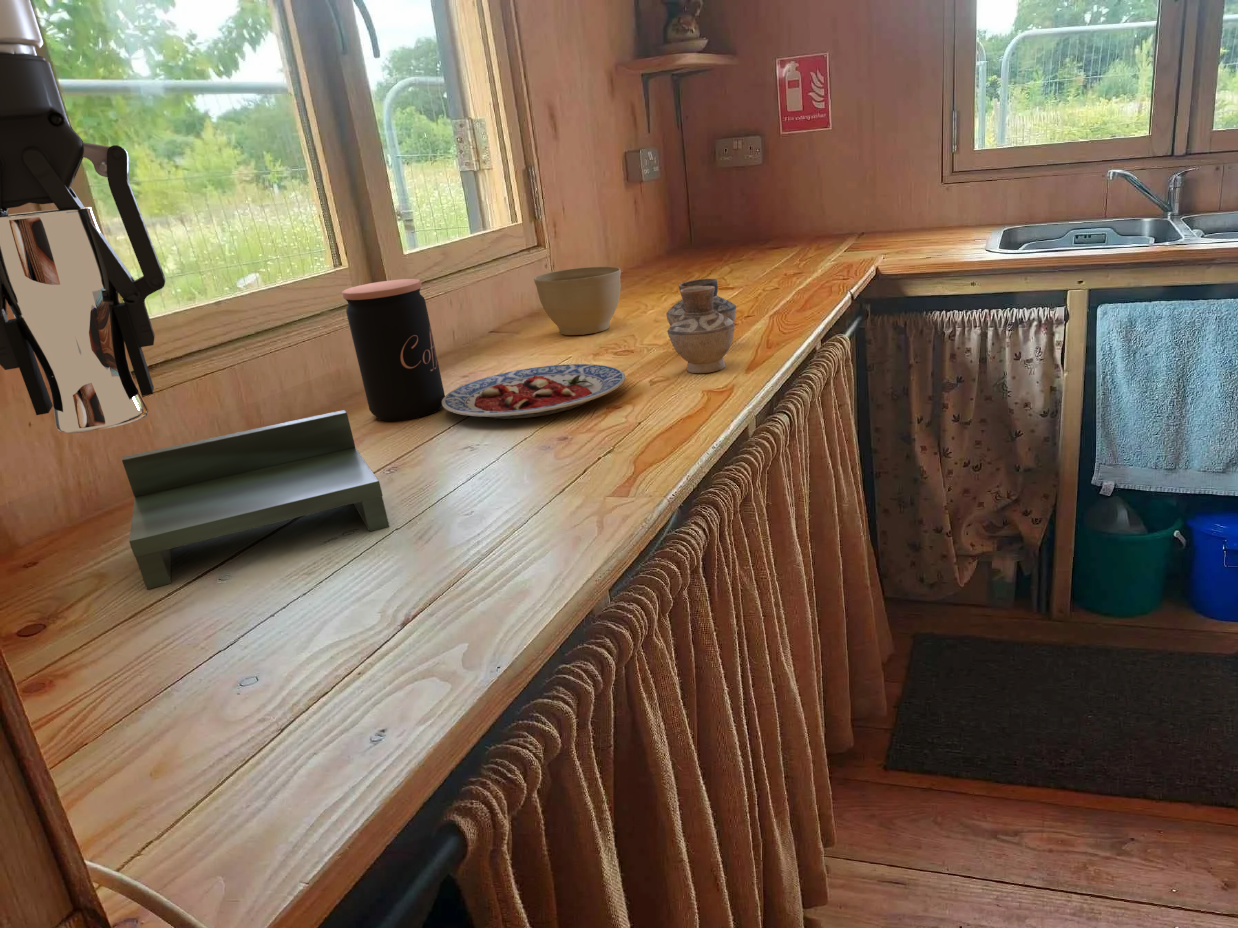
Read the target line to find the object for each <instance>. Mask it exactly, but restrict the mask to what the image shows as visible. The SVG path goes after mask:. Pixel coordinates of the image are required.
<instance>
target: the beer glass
mask: <svg viewBox="0 0 1238 928" xmlns="http://www.w3.org/2000/svg"><path fill="white" fill-rule="evenodd" d="M86 216H87V217H88V219H89V220H90V221H91V222H92V224H93V225H94V226H95V228H96V229H97V230H98V231H99V232H100V231H101V229H100V228H99V226H98V223H97V221H96V217H95V215H94V212H93V208H92V207H91V206H84V208H81V209H71V210H62V211H59V210H58V208H57V209H47V210H37V211H27V212H26V211H25V212H18V213H8V216H2V217H0V277H1V281H2V289H3V293H4V295H5V298H6V301H7V306H9V309H10V311H11V313H12V314H13V317H14V319H16V321H17V322H18V324H19V326H20V328H21V330H22V332H23V334H24V335H25V337H26V339H27V341H28V343H29V344H30V346H31V348H32V350H33V352H34V354H35V357H36V360H37V362H39V363H38V364H40V367H41V369H42V370H43V373H44V375H45V378H46V380H47V383H48V387H49V389H50V393H51V398H52V399H51V400H52V405H53V406H52V408H53V415H54V423H55V427H56V429H57V431H58V432H60V433H64V434H79V433H80V434H81V433H90V432H97V431H104V430H108V429H113V428H117V427H121V426H125V425H128V424H131V423H134V422H137V421H139V420H141V419H143V418H145V417H147V416H148V415H149V412H150V411H149V408H148V406H147V404H146V401H145V400H144V398H143V396H142V395H141V392H140V389H139V387H137V386H138V385H137V384H136V381H135V379H134V378H133V375H132V372H131V369H130V365H129V362H128V361H129V360H128V357H127V356H128V355H127V348H126V345H125V342H124V339H123V336H122V333H121V330H120V327H119V324H118V320H117V317H116V314H115V311H114V307H117V306H119V305H120V303H121V299H120V294H119V293H118V292H117V290H116V289H115V287H114V286H113V284H112V283H111V282H110V280H109V279H108V275H107V271H106V267H105V264H104V262H103V259H102V256H101V253H100V250H99V247H98V245H97V242H96V240H95V237H94V235H93V232H92V230H91V227H90V225H89V222H88V220H87V217H86Z"/></svg>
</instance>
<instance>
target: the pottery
mask: <svg viewBox="0 0 1238 928" xmlns="http://www.w3.org/2000/svg"><path fill="white" fill-rule="evenodd" d="M718 286H719V285H718V280H717V279H716V278H698V279H692V280H687V281H683V282H680V283H679V284H678V290H679V293H680V296H681V299H680V300H678V301H677V302H676V303H674V304H673V305H672V307H671V308H669V309H668V310H667V312H666V319H667V321H668V322H667V323H668V324H669V326H670V327H669V328H667V331H666V332H667V335H668V338H669V340H670V343H671V345H672V347H673V348H674V350H675V351H676V353H677V354H678V355H679V356H680V357H681V358H682V359H683V360H684V361H686V362H687V363H686V366H687V367H686V372H688V373H692V374H709V373H713V372H718V371H721V370H723V369H725V367H726V363H725V360H724V357H726V355H727V354H728V352H729V351H730V348H731V345H732V343H733V339H734V334H735V327H736V326H735V325H736V323H735V320H736V317H737V305H736V304H735V303H733V302H732V301H730V300H728V299H725V298H724V297H721V296H719V295H718V291H719V289H718V288H719V287H718Z"/></svg>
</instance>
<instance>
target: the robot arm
mask: <svg viewBox="0 0 1238 928" xmlns="http://www.w3.org/2000/svg"><path fill="white" fill-rule="evenodd" d="M43 45H44V40H43V37H42V34H41V30H40V28H39V25H38V21H37V17H36V15H35V12H34V9H33V6H32V2H31V0H0V217H2V216H8V214H9V209H13V208H20V207H22V206H24V205H27V204H36V205H48V204H50V205H51V204H54V205H55V207H56V208H57V209H58V210H59V211H62V210H71V209H81V208H84V207H85V206H84V205H83V202H82V201H81V200H80V198H79V197H78V195H77V194H76V192H75V190H74V189H73V188H72V185H73V183H74V180H75V178H76V176H77V174H78V172H79V169H80V166H81V164H82V162H83V159H84V158H85V159H87V160H89V161H90V162H91V163H92V165H93V168H94V171H95V172H96V173H97V175H99V176H101V177H103V178H106V179H107V183H108V187H109V190H110V194H111V197H112V198H113V201H114V204H115V206H116V208H117V212H118V214H119V215H120V219H121V221H122V224H123V226H124V229H125V232H126V234H127V237H128V239H129V242H130V246H131V247H132V250H133V252H134V255H135V257H136V258H135V259H136V261H137V263H138V265H139V268H140V270H141V273H142V276H140V277H138V278H136V279H134V277H133V275H132V273H130V271H129V270H128V268H127V267H126V266H125V264H124V262H123V261H122V260H121V258H120V256H118V254H117V253H116V251H115V250H114V248H113V246H111V244H110V243H109V241H108V240H107V238H106V237H105V236H104V234H103V232H102V230H100V232H99V231H98V230H97V229H96V228H95V226H94V225H93V224H92V222H91V221H90V220H89V219H88V217H87V216H86V217H87V220H88V222H89V225H90V227H91V230H92V232H93V235H94V237H95V240H96V242H97V245H98V247H99V250H100V253H101V256H102V259H103V262H104V264H105V267H106V271H107V275H108V279H109V280H110V282H111V283H112V284H113V286H114V287H115V289H116V290H117V292H118V293H119V297H121V299H122V302H120V305H119V306H117V307H114V311H115V314H116V317H117V320H118V324H119V327H120V330H121V333H122V336H123V339H124V342H125V349H126V352H127V354H128V355H127V356H128V357H129V360H130V363H131V367H132V370H133V373H134V376H135V379H136V383H137V386H138V390H139V392H140V394H141V396H142V397H143V396H149V395H154V389H155V386H154V383H153V380H152V377H151V373H150V371H149V367H148V364H147V360H146V358H145V355H144V351H143V349H142V348H145V347H151V346H154V344H155V338H156V335H155V332H154V328H153V325H152V322H151V319H150V315H149V313H148V309H147V305H146V299H147V297H149V296H151V295H152V294H154V293H156V292H157V291H161V290H162V289H163V288H164V287H165V285H166V276H165V274H164V271H163V269H162V266H161V263H160V260H159V257H158V255H157V252H156V249H155V247H154V245H153V242H152V239H151V236H150V234H149V232H148V229H147V226H146V223H145V221H144V218H143V216H142V213H141V210H140V207H139V205H138V202H137V200H136V197H135V194H134V192H133V189H132V186H131V184H130V179H129V174H130V172H129V169H130V168H129V166H130V165H129V164H130V163H129V162H130V160H129V159H130V156H129V153H128V151H127V150H126V149H125V148H124V147H123V146H120V145H118V144H115V145H114V144H113V145H110V146H109V145H102V144H96V143H90V142H84V141H83V139H82V138H81V136H80V135H79V134H78V133H77V132H76V131H75V130H74V129H73V127H72V126H71V124H70V122H69V119H68V117H67V113H66V110H65V107H64V104H63V100H62V97H61V93H60V91H59V88H58V85H57V82H56V78H55V76H54V72H53V69H52V66H51V63H50V61H47V60H46V58H45V57H44V56H41V55H37V52H36V50H38V49H41V48H42V46H43ZM7 307H8V303H7V301H6V298H5V295H4V293H3V289H2V281H1V277H0V366H1V368H3V370H5V371H8V370H15V369H19V371H20V374H21V377H22V380H23V382H24V385H25V388H26V391H27V393H28V396H29V399H30V401H31V404H32V407H33V410H34V412H35V416H41V415H46V414H49V413H50V412H51V410H52V408H53V401H52V399H51V396H50V394H49V390H48V389H47V388H48V387H47V385H46V382H45V380H44V377H43V374H42V372H41V368H40V366H39V363H38V359H37V357H36V355H35V353H34V351H33V350H32V348H31V346H30V344H29V343H28V341H27V339H26V337H25V335H24V334H23V332H22V330H21V328H20V326H19V324H18V322H17V321H16V319H15V318H10V319H9V318H8V314H9V311H7Z"/></svg>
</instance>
